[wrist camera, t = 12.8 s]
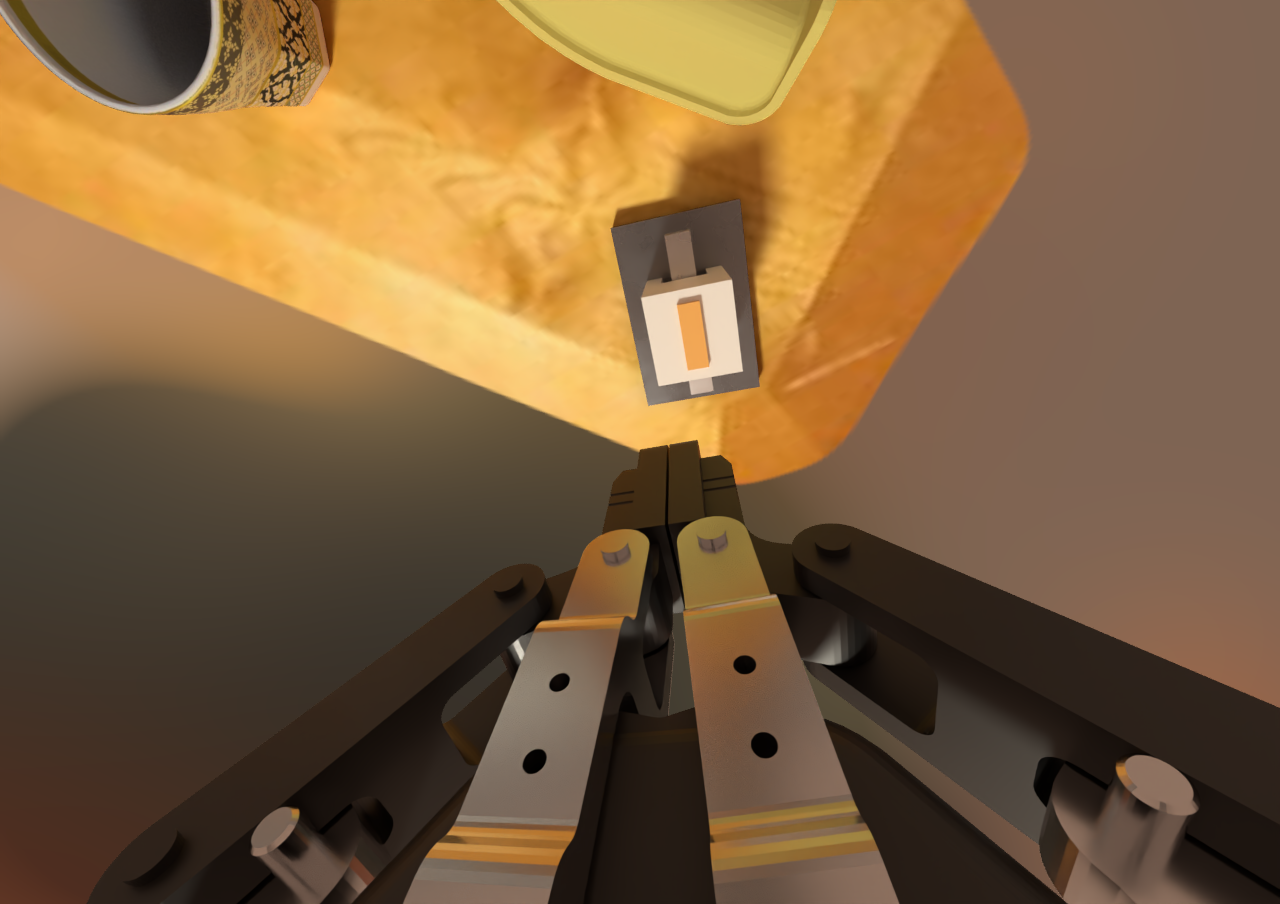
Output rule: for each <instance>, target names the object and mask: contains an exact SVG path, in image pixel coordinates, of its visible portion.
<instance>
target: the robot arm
mask: <svg viewBox="0 0 1280 904" xmlns="http://www.w3.org/2000/svg"><path fill="white" fill-rule="evenodd" d="M685 608H686V609H685ZM680 612H683V613H684V623H685V630H686V639H687V647H688V655H689V663H690V671H691V679H692V688H693V695H694V704H695V707H694V708H691V709H688V710H685V711H682V712H679V713H676V714H673V715H670V716H668V712H669V701H670V690H671V678H672V668H673V655H674V638H673V634H672V628H673V613H680ZM499 655H500V656H501V658H502V660H503V662H504V664H505V666H506V668H507V671H505V672H504V673H503V674H502V675H501V676H500V677H498V678H497V679H496V680H495V681H494V682H493V683H492V684H491V685H490V686H488V687H487V688H486V689H485V690H484V691H483V692H482V693H481V694H479V695H478V696H477V697H476V698H475V699H474V700H473V701H472V702H471V703H469V704H468V705H467V706H466V707H465V708H464V709H463V710H462V711H460V712H459V713H458V714H457V715H456V716H455V717H454V718H452V719H451V720H450V721H448V722H446V723H444V724H442V721H441V715H442V711H443V708H444V706H445V704H446V703H447V701H448V700H449V699H450V697H451V696H452V695H453V694H454V693H456V692H457V691H458V690H459V689H460V688H461V687H463V686H464V685H465V684H466V683H467V682H468V681H470V680H471V679H472V678H473V677H474V676H475V675H477V674H478V673H479V672H480V671H481V670H482V669H484V668H485V667H486V666H487V665H488V664H489V663H491V662H492V661H493V660H494V659H495V658H496V657H497V656H499ZM801 660H803V662H804V665H805V666H806V668H807V670H808V671H809V672H810V673H811V674H812V675H813V676H814V677H815V678H816V679H818V680H819V681H820V682H822V683H823V684H824V685H826V686H827V687H828V688H830V689H831V690H832V691H834V692H835V693H836V694H838V695H839V696H840V697H842V698H843V699H844V700H846V701H847V702H848V703H850V704H851V705H852V706H854V707H855V708H856V709H858V710H859V711H860V712H862V713H863V714H865V715H866V716H867V717H869V718H870V719H871V720H873V721H874V722H875V723H877V724H878V725H879V726H881V727H882V728H883V729H885V730H886V731H887V732H889V733H890V734H891V735H893V736H894V737H895V738H897V739H898V740H899V741H901V742H902V743H904V744H905V745H906V746H907V747H909V748H910V749H911V750H913V751H914V752H915V753H917V754H918V755H919V756H921V757H922V758H923V759H925V760H926V761H927V762H929V763H930V764H931V765H933V766H934V767H935V768H937V769H938V770H939V771H941V772H942V773H943V774H945V775H946V776H948V777H949V778H950V779H952V780H953V781H954V782H956V783H957V784H958V785H960V786H961V787H962V788H964V789H965V790H966V791H968V792H969V793H970V794H972V795H973V796H974V797H976V798H977V799H978V800H980V801H981V802H982V803H984V804H985V805H986V806H988V807H989V808H991V809H992V810H993V811H994V812H996V813H997V814H998V815H1000V816H1001V817H1003V818H1004V819H1005V820H1006V821H1008V822H1009V823H1010V824H1012V825H1013V826H1014V827H1016V828H1017V829H1018V830H1020V831H1021V832H1023V833H1024V834H1025V835H1026V836H1028V837H1029V838H1030V839H1032V840H1033V841H1035V842H1036V843H1038V844H1039V851H1040V854H1041V859H1042V863H1043V865H1044V867H1045V870H1046V872H1047V874H1048V876H1049V878H1050V880H1051V881H1052V883H1053V885H1054V887H1055V888H1056V889H1057V891H1058V892H1059V894H1060V895H1061V896H1062V898H1063V899H1064V900H1065V901H1066V902H1067V903H1066V902H1065V901H1064V900H1063V899H1062V898H1060V897H1059V896H1058V895H1057V894H1056V893H1054V892H1053V891H1052V890H1051V889H1050V888H1048V887H1047V886H1046V885H1045V884H1044V883H1042V882H1041V881H1040V880H1039V879H1038V878H1036V877H1035V876H1034V875H1033V874H1032V873H1030V872H1029V871H1028V870H1027V869H1026V868H1024V867H1023V866H1022V865H1021V864H1019V863H1018V862H1017V861H1016V860H1015V859H1013V858H1012V857H1011V856H1010V855H1009V854H1007V853H1006V852H1005V851H1004V850H1003V849H1001V848H1000V847H999V846H998V845H997V844H995V843H994V842H993V841H992V840H991V839H989V838H988V837H987V836H986V835H985V834H983V833H982V832H981V831H980V830H978V829H977V828H976V827H975V826H974V825H972V824H971V823H970V822H969V821H968V820H966V819H965V818H964V817H963V816H962V815H960V814H959V813H958V812H957V811H956V810H954V809H953V808H952V807H951V806H950V805H948V804H947V803H946V802H945V801H943V800H942V799H941V798H940V797H939V796H938V795H936V794H935V793H934V792H933V791H931V790H930V789H929V788H928V787H927V786H926V785H924V784H923V783H922V782H921V781H919V780H918V779H917V778H916V777H915V776H913V775H912V774H911V773H910V772H908V771H907V770H906V769H905V768H903V766H901V765H900V764H899V763H898V762H897V761H895V760H894V759H893V758H892V757H890V756H889V755H888V754H887V753H885V752H884V751H883V750H882V749H880V748H879V747H877V746H876V745H874V744H873V743H871V742H870V741H868V740H867V739H865V738H864V737H862V736H861V735H859V734H857V733H855V732H853V731H851V730H849V729H847V728H845V727H844V726H841V725H839V724H837V723H834V722H832V721H829V720H827V719H823V717H822V714H821V712H820V709H819V706H818V704H817V701H816V698H815V695H814V693H813V690H812V687H811V685H810V682H809V679H808V677H807V674H806V671H805V669H804V666H803V663H802V661H801ZM87 904H1280V708H1278V707H1276V706H1274V705H1272V704H1269V703H1267V702H1264V701H1262V700H1260V699H1257V698H1255V697H1253V696H1250V695H1248V694H1246V693H1243V692H1241V691H1239V690H1236V689H1234V688H1231V687H1229V686H1227V685H1224V684H1222V683H1220V682H1217V681H1215V680H1212V679H1210V678H1208V677H1206V676H1203V675H1201V674H1198V673H1196V672H1194V671H1191V670H1189V669H1187V668H1184V667H1182V666H1180V665H1177V664H1175V663H1173V662H1170V661H1168V660H1166V659H1163V658H1161V657H1159V656H1156V655H1154V654H1151V653H1149V652H1147V651H1144V650H1142V649H1140V648H1137V647H1135V646H1133V645H1130V644H1128V643H1126V642H1123V641H1121V640H1118V639H1116V638H1114V637H1111V636H1109V635H1107V634H1104V633H1102V632H1099V631H1097V630H1095V629H1093V628H1090V627H1088V626H1085V625H1083V624H1081V623H1078V622H1076V621H1074V620H1071V619H1069V618H1067V617H1064V616H1062V615H1059V614H1057V613H1055V612H1052V611H1050V610H1048V609H1045V608H1043V607H1040V606H1038V605H1036V604H1034V603H1031V602H1029V601H1027V600H1024V599H1022V598H1019V597H1017V596H1015V595H1012V594H1010V593H1008V592H1005V591H1003V590H1001V589H998V588H996V587H993V586H991V585H989V584H986V583H984V582H982V581H979V580H977V579H975V578H972V577H970V576H968V575H965V574H963V573H961V572H958V571H956V570H954V569H951V568H949V567H946V566H944V565H942V564H939V563H937V562H935V561H932V560H930V559H928V558H925V557H923V556H921V555H918V554H916V553H913V552H911V551H909V550H906V549H904V548H902V547H899V546H897V545H895V544H892V543H890V542H888V541H885V540H883V539H881V538H878V537H876V536H873V535H871V534H869V533H866V532H864V531H862V530H859V529H857V528H854V527H851V526H847V525H842V524H821V525H816V526H812V527H809V528H807V529H805V530H803V531H802V532H800V533H799V534H798V535H797V536H796V537H795V538H794V540H793V542H792V544H782V543H774V542H769V541H765V540H763V539H760V538H758V537H756V536H754V535H753V534H752V533H750V531H749V530H748V529H747V528H746V526H745V524H744V520H743V515H742V511H741V507H740V502H739V497H738V492H737V488H736V483H735V479H734V474H733V469H732V465H731V463H730V462H728V461H727V460H726V459H725V458H724V457H722V456H721V455H719V456H713V457H706V458H701V456H700V450H699V445H698V441H697V440H695V441H689V442H683V443H677V444H670V446H669V447H668V445H665V446H659V447H653V448H647V449H641V450H640V452H639V460H638V467H637V469H632V470H626V471H623V472H622V473H621V474H620V475H619V476H618V477H617V479H616V480H615V481H614V482H613V485H612V490H611V497H610V500H609V506H608V509H607V513H606V518H605V523H604V527H603V532H602V535H601V536H599V537H597V538H596V539H594V540H593V541H592V542H591V543H590V544H589V545H588V546H587V547H586V549H585V550H584V552H583V555H582V557H581V560H580V563H579V566H578V567H576V568H575V569H572V570H570V571H567V572H564V573H562V574H559V575H556V576H553V577H551V578H548V579H546V578H545V575H544V573H543V571H542V570H541V568H539V567H538V566H535V565H532V564H518V565H513V566H510V567H507V568H505V569H502V570H500V571H498V572H496V573H495V574H494V575H492V576H490V577H489V578H488V579H486V580H485V581H484V582H482V583H481V584H480V585H478V586H477V587H476V588H474V589H473V590H471V591H470V592H469V593H468V594H466V595H465V596H464V597H462V598H460V599H459V600H458V601H456V602H455V603H454V604H452V605H451V606H450V607H448V608H447V609H445V610H444V611H443V612H441V613H440V614H439V615H437V616H436V617H435V618H433V619H432V620H430V621H429V622H428V623H426V624H425V625H424V626H423V627H421V628H420V629H418V630H417V631H416V632H414V633H413V634H411V635H410V636H409V637H407V638H406V639H405V640H404V641H402V642H401V643H399V644H398V645H396V646H395V647H394V648H392V649H391V650H390V651H388V652H387V653H386V654H384V655H383V656H382V657H380V658H379V659H377V660H376V661H375V662H373V663H372V664H371V665H369V666H368V667H366V668H365V669H364V670H362V671H361V672H360V673H358V674H357V675H356V676H354V677H353V678H352V679H350V680H349V681H347V682H346V683H345V684H343V685H342V686H341V687H339V688H338V689H337V690H335V691H334V692H332V693H331V694H330V695H328V696H327V697H326V698H324V699H323V700H322V701H320V702H319V703H317V704H316V705H315V706H313V707H312V708H311V709H309V710H308V711H307V712H305V713H304V714H303V715H301V716H300V717H298V718H297V719H296V720H295V721H293V722H292V723H291V724H289V725H288V726H286V727H285V728H284V729H282V730H281V731H279V732H278V733H277V734H275V735H274V736H273V737H271V738H270V739H268V740H267V741H266V742H264V743H263V744H262V745H260V746H259V747H258V748H256V749H255V750H254V751H252V752H251V753H249V754H248V755H247V756H245V757H244V758H243V759H241V760H240V761H239V762H237V763H236V764H234V765H233V766H232V767H230V768H229V769H228V770H226V771H225V772H224V773H222V774H221V775H219V776H218V777H217V778H215V779H214V780H213V781H211V782H210V783H209V784H207V785H206V786H205V787H203V788H202V789H200V790H199V791H198V792H196V793H195V794H194V795H192V796H191V797H190V798H188V799H187V800H185V801H184V802H183V803H181V804H180V805H179V806H177V807H176V808H174V809H173V810H172V811H170V812H169V813H168V814H166V815H165V816H164V817H162V818H161V819H160V820H158V821H157V822H155V823H154V824H153V825H151V826H150V827H149V828H148V829H147V830H145V831H144V832H143V833H141V834H140V835H139V836H138V837H137V838H136V839H135V840H134V841H132V842H131V843H130V844H129V845H128V846H127V847H126V848H125V849H124V850H123V851H122V852H121V853H120V854H119V856H118V857H117V858H116V859H115V860H114V861H113V862H112V864H111V865H110V866H109V867H108V869H107V870H106V871H105V872H104V874H103V875H102V877H101V878H100V880H99V881H98V883H97V884H96V886H95V888H94V889H93V892H92V893H91V895H90V897H89V900H88V902H87Z"/></svg>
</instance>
